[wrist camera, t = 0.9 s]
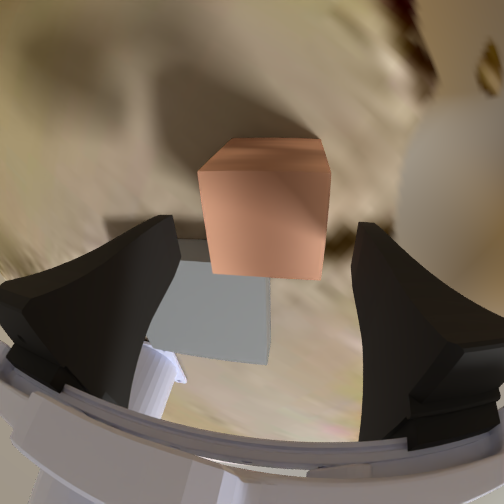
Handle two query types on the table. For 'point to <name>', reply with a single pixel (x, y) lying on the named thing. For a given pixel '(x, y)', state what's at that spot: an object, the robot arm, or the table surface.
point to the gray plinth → (212, 311)
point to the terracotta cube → (267, 207)
